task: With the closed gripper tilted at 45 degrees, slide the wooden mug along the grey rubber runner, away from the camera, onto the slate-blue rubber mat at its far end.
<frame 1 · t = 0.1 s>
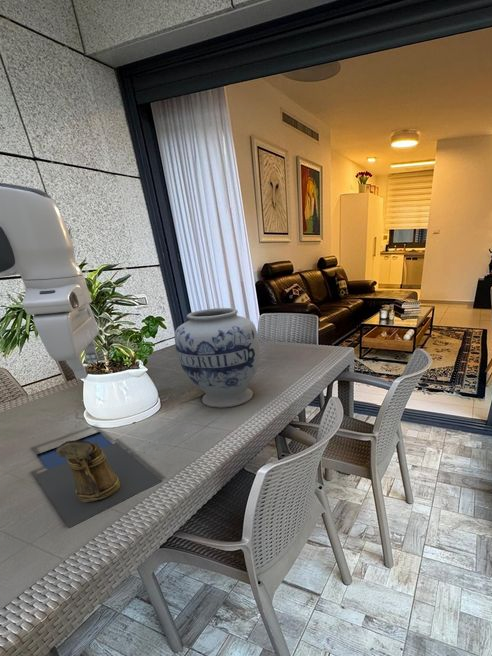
hand: (88, 369, 69), 29 cm above the table, tool pointing down, fingers open, 8 cm apart
apothecary jar: (228, 397, 127), on the table
runner: (96, 478, 86), on the table
mat: (73, 447, 100), on the table
wooden mug: (100, 496, 80), resting on runner
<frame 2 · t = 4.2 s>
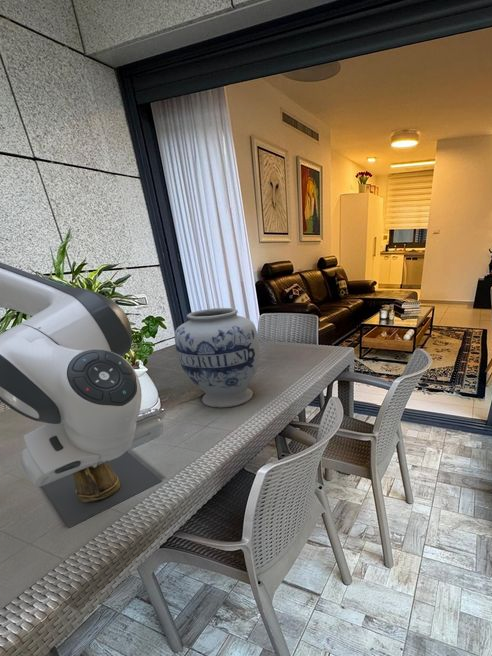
hand: (99, 460, 63), 16 cm above the table, tool tilted 45°, fingers closed
nothing on the table moved.
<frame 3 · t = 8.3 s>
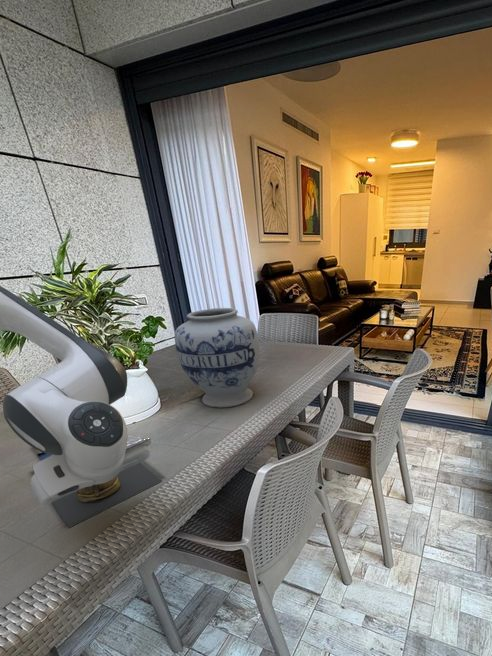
hand: (95, 480, 74), 7 cm above the table, tool tilted 45°, fingers closed
wooden mug: (99, 495, 80), resting on runner, touching gripper
everything else where it was.
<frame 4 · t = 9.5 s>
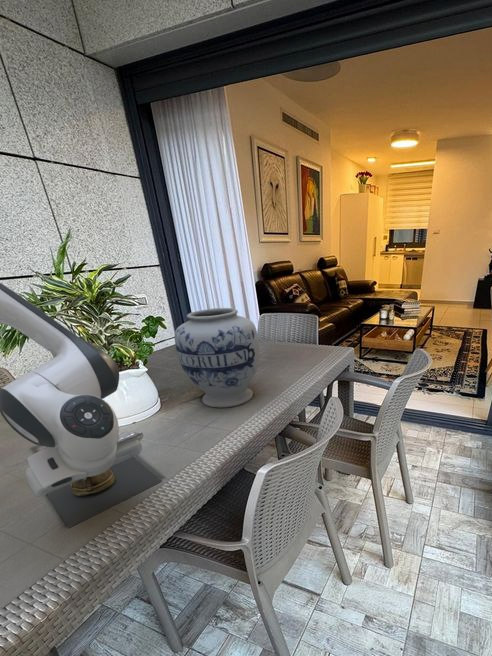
hand: (89, 474, 76), 7 cm above the table, tool tilted 45°, fingers closed
wooden mug: (93, 490, 82), resting on runner, touching gripper
everything else where it was.
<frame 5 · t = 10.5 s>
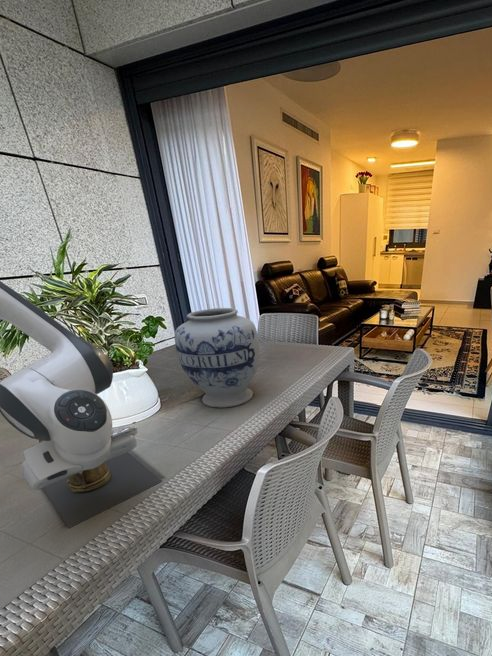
hand: (85, 468, 78), 7 cm above the table, tool tilted 45°, fingers closed
wooden mug: (89, 487, 83), resting on runner, touching gripper
everything else where it was.
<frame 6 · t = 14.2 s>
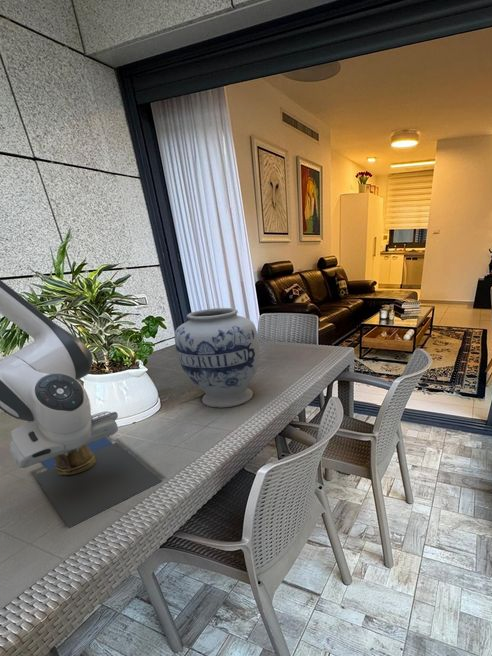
hand: (70, 451, 85), 7 cm above the table, tool tilted 45°, fingers closed
wooden mug: (74, 471, 89), resting on runner, touching gripper
everything else where it was.
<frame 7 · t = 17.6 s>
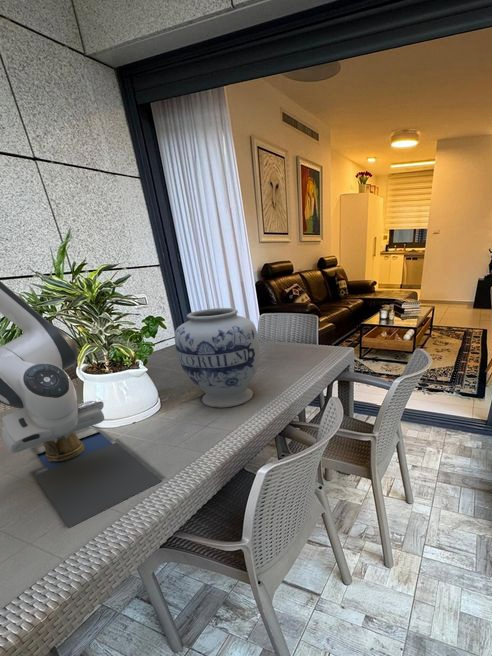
hand: (59, 438, 90), 7 cm above the table, tool tilted 45°, fingers closed
wooden mug: (63, 458, 95), on the table, touching gripper
everything else where it was.
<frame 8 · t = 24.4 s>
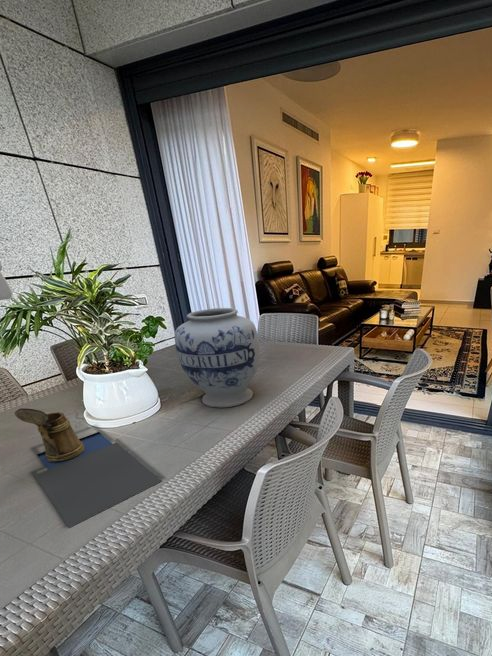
wooden mug: (63, 458, 95), on the table, touching mat
everything else where it was.
at the end: wooden mug inside the target area on the mat (4.7 cm from its centre), point 0.0 cm above the mat's base; wooden mug tilted 0°; wooden mug moved 25.1 cm from its start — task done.
